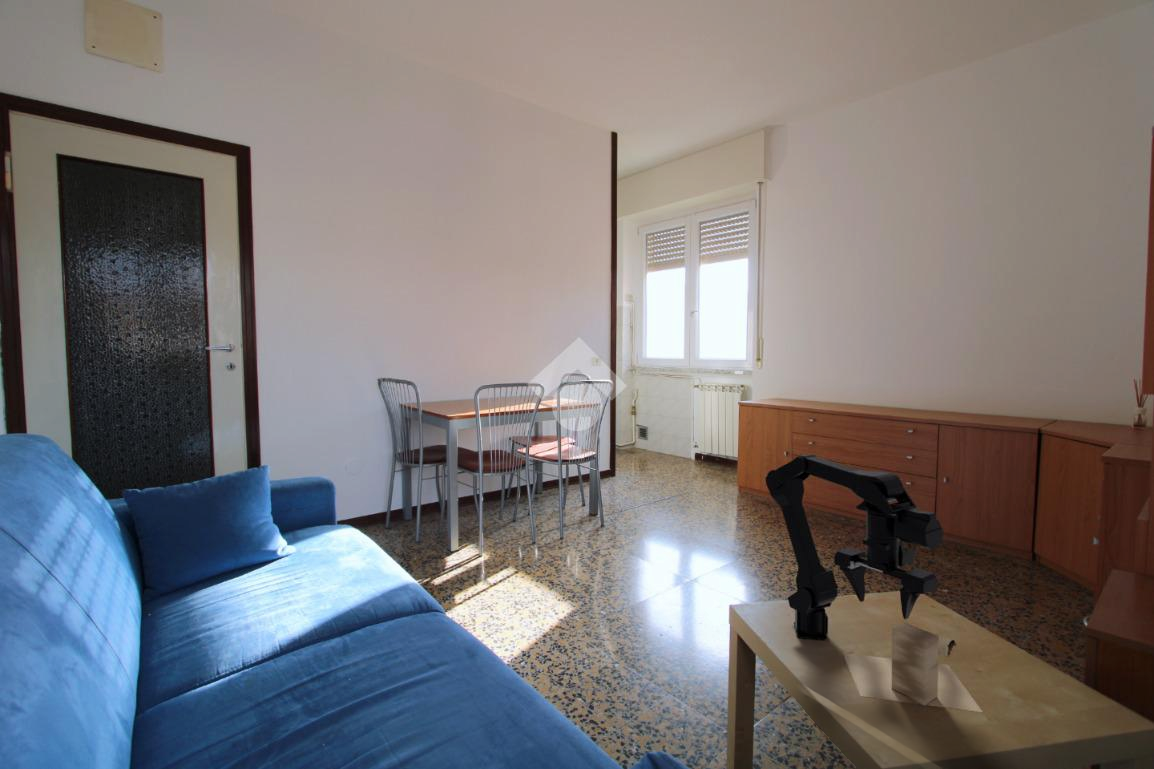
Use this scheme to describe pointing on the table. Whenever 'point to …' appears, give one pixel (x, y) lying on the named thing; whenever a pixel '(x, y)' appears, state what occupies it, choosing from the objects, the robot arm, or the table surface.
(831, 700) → the table surface
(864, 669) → the white flat sheet
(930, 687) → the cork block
